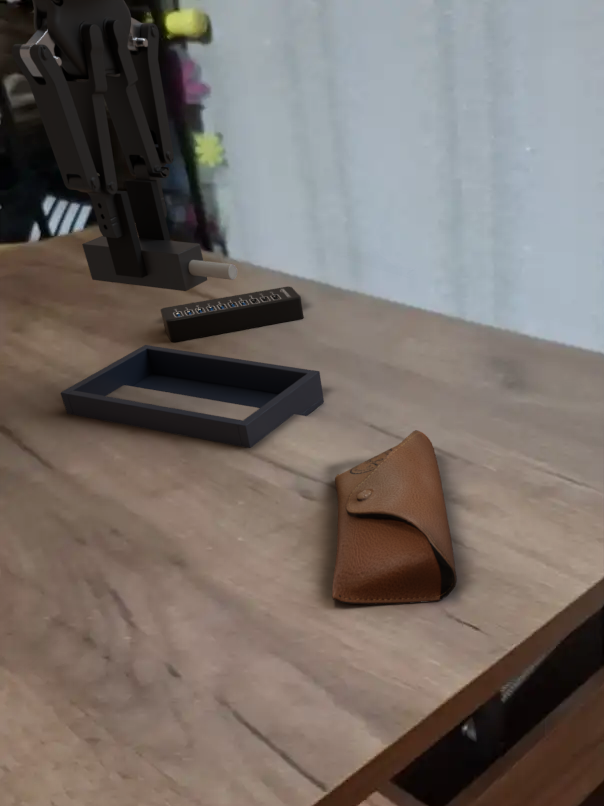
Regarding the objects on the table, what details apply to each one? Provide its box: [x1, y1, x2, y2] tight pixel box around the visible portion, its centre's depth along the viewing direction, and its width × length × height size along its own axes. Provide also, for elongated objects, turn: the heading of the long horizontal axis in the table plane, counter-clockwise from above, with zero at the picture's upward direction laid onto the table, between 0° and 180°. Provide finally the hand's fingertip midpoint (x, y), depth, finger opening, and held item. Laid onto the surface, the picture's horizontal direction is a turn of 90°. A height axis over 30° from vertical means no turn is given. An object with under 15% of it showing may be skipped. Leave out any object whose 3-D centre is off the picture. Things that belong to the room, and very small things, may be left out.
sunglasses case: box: [331, 429, 458, 606], centre depth 68 cm, size 18×7×7 cm
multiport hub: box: [160, 286, 305, 343], centre depth 103 cm, size 4×14×2 cm, turn 114°
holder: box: [59, 344, 325, 449], centre depth 85 cm, size 20×12×3 cm, turn 66°
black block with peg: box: [82, 235, 238, 292], centre depth 80 cm, size 14×3×3 cm, turn 66°
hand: (146, 267), depth 81 cm, fingers closed on black block with peg, 3 cm apart
